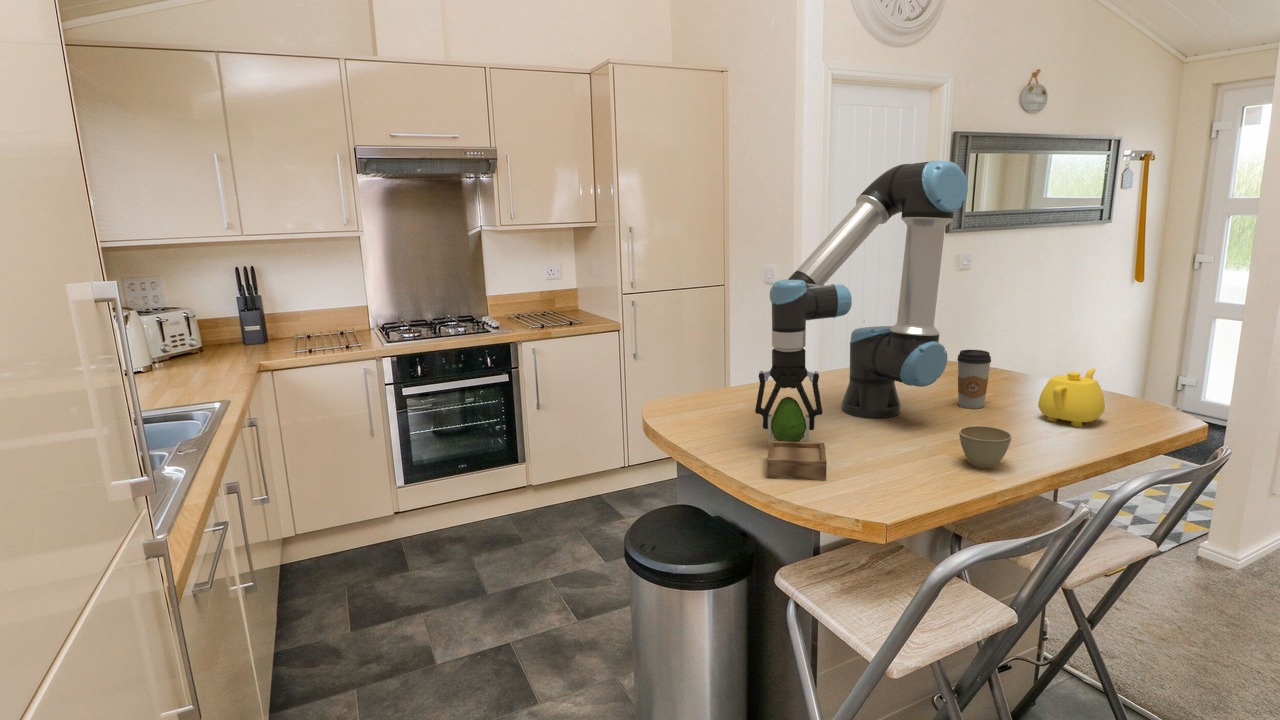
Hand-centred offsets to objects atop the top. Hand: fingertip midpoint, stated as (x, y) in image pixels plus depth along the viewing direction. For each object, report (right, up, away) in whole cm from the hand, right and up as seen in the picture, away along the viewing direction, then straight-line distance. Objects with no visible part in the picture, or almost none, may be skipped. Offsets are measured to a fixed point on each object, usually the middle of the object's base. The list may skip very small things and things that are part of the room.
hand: (788, 442), depth 165 cm
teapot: (+74, +4, +12) cm, 75 cm away
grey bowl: (+38, -3, -15) cm, 41 cm away
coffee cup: (+56, +7, +27) cm, 62 cm away
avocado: (0, -1, 0) cm, 1 cm away
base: (-1, -4, -14) cm, 14 cm away
